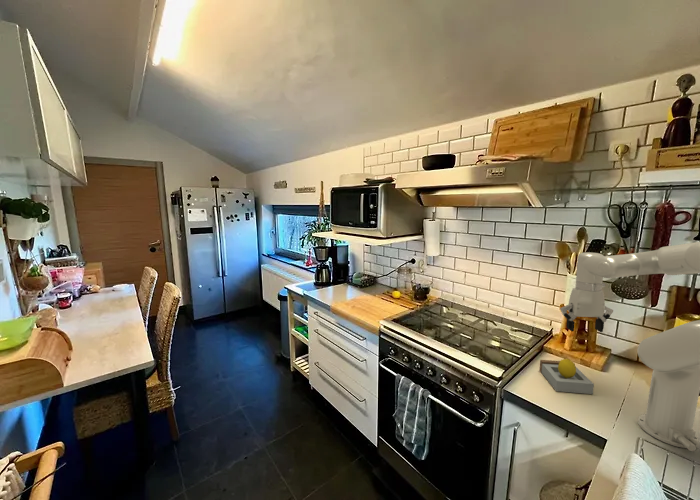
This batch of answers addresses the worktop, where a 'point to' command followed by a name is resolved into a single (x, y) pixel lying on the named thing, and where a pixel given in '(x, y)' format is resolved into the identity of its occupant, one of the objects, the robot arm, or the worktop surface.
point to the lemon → (567, 368)
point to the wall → (547, 363)
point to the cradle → (567, 380)
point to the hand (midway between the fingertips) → (584, 330)
